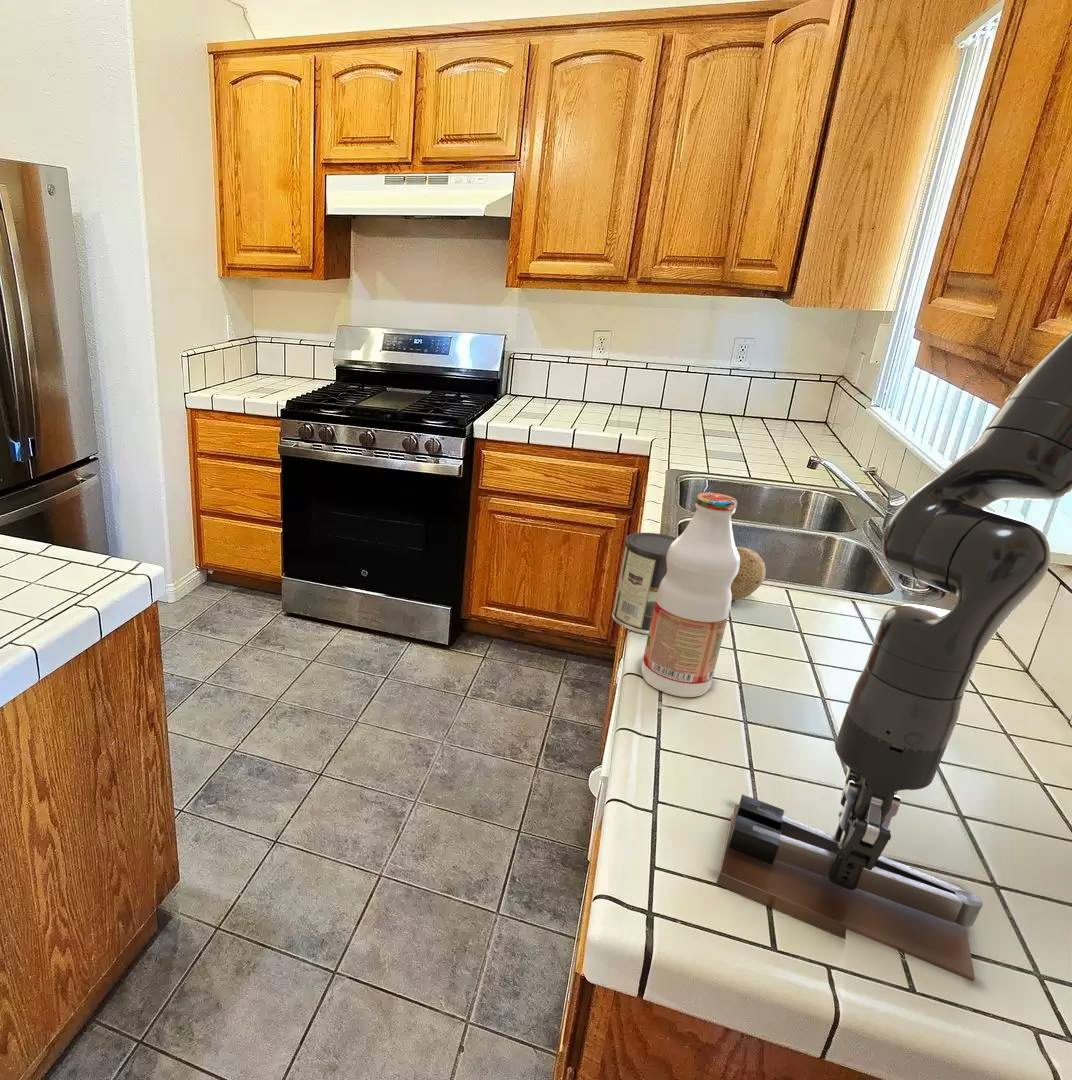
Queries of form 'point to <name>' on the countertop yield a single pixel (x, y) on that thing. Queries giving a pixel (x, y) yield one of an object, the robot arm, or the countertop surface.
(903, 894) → the tongs
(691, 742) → the countertop surface
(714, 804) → the countertop surface
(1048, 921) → the countertop surface
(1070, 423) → the robot arm
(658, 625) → the fruit juice
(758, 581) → the natural sponge
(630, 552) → the coffee can
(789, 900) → the board
